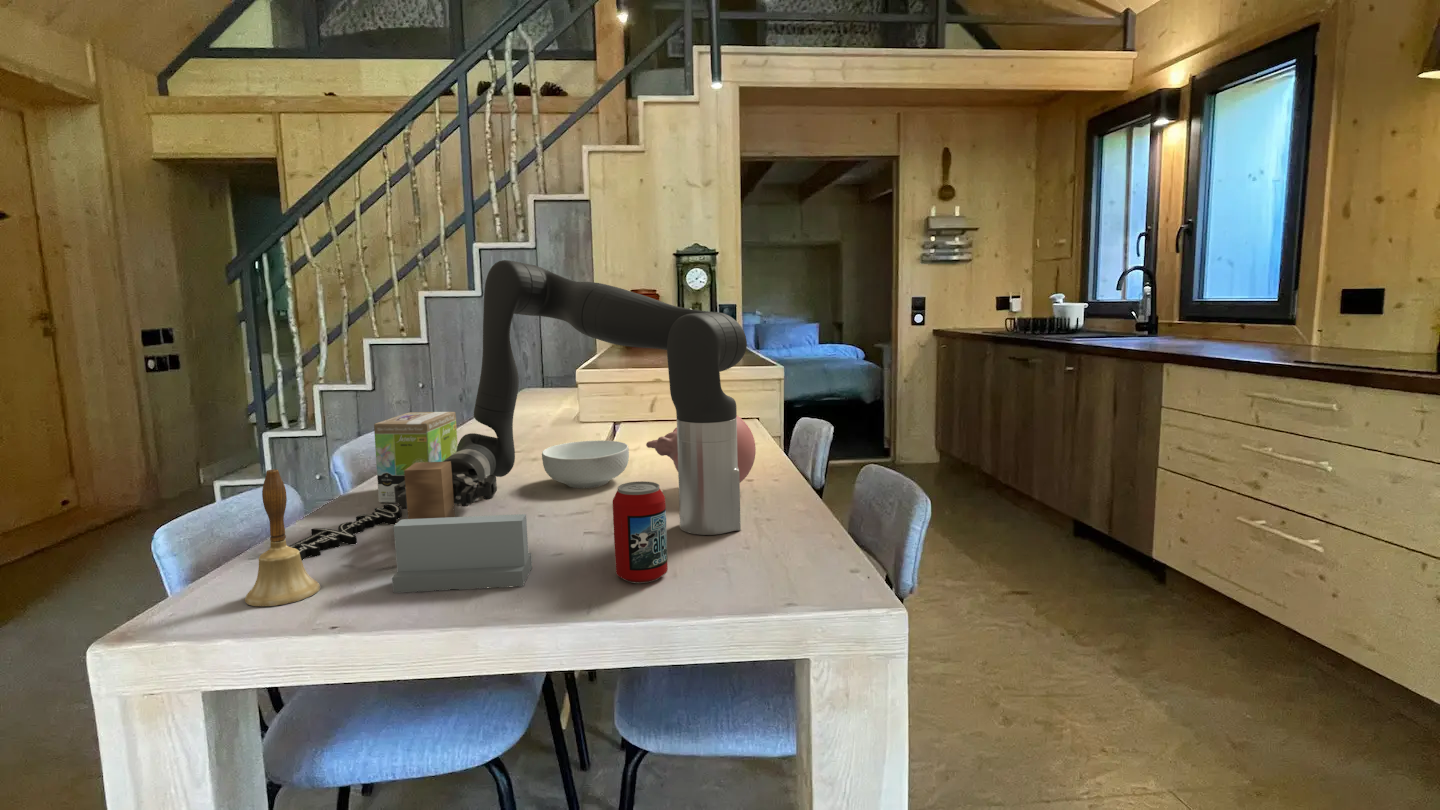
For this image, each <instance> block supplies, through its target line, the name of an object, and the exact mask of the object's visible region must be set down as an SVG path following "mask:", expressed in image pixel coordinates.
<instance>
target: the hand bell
mask: <svg viewBox="0 0 1440 810" xmlns="http://www.w3.org/2000/svg"><path fill="white" fill-rule="evenodd" d="M261 493H262V496H261V497H262V502H263V503H262V504H263V508H264V510H265V513H266V516H267V517H268V520H269V534H270V542H269V543H270V544H269V545H270V547H269V549H268V550H266V551H264V552H263V553H261V554H260V555H259V557H258V569H257V570H258V572H257V577H256V579H255V583H254V585H253V586H252V588H251V590H249V591H248V592H247V594H246V596H245V598H244V602H245V603H246V604H247V605H249V606H252V607H276V606H282V605H288V604H291V603H296V602H299V601H302V600H305V599H307V598H310V597H312V596H313V595H315V594H317V593H318V592H319V591H320V590H321V585H320V583H319V582H318V581H317V580H316V579H314V578H312V577H311V576H310V575H309V573H308V572H307V571H306V568H305V566H304V563H303V560H301V557H300V552H299V550H297V549H295V548H291V547H289V546H290V545H287V541H286V540H287V538H286V537H287V535H286V529H285V528H286V527H285V522H284V521H285V520H284V519H285V513H286V509H287V489H286V486H285V483H284V481H283V479H282V477H281V475H280V472H279V469H275V468H274V469H272V468H271V469H268V470H266V473H265V477H264V480H263V484H262V491H261Z"/></svg>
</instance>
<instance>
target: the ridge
mask: <svg viewBox="0 0 1440 810" xmlns="http://www.w3.org/2000/svg"><path fill="white" fill-rule="evenodd" d="M392 526H393V536H394V547H395V548H394V549H395V558H396V571H397V572H395V574H394V575H393V576H392V577H391V580H392V591H393V592H392V593H395V594H396V593H415V592H417V591H418V592H434V590H435V591H436V590H439V591H451V590H450V589H459V590H474V589H473V588H479V589H491V588H490V587H499V588H510V587H509V586H519V587H524V585H525V583H524V582H526V581H527V579H528V577H527V576H529V575H528V574H530V573H531V571H530V570H532V569H533V560H532V556H533V555H532V552H529V540H528V523H527V514H526V513H522V514H521V513H520V514H519V513H517V514H499V515H498V514H497V515H495V514H494V515H493V514H492V515H472V516H455V517H446V518H423V519H408V518H405V519H401V518H400V519H399V521H397V524H394V525H392ZM529 572H530V573H529ZM526 578H527V579H526ZM525 580H526V581H525ZM523 584H524V585H523ZM507 586H508V587H507ZM487 587H489V588H487ZM470 588H472V589H470ZM448 589H449V590H448Z"/></svg>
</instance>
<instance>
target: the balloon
mask: <svg viewBox="0 0 1440 810" xmlns="http://www.w3.org/2000/svg"><path fill="white" fill-rule="evenodd" d="M753 434H754V433H753V432H752V430H751V429H750V427H749V425H748V424H747V423H746V421H744V420H743V419H742V417H740V416H739V415H737V459H738V469H739V477H740V483H741V482H743V481H744V480H745V479H746V477H748V475H749V473H750V472H751V470H752V469H753V465H754V463H755V459H756V453H757V452H756V451H757V448H756V442H755V441H756V440H755V437H754V435H753ZM645 446H646V448H649V449H650V448H651V449H654V450H655V452H656V453H657V455H659V456H661V457H662V456H667V457H669V458H670V459H671V460H672V462H673V465H674V467H675V470H676V472H678V445H677V426H676V427H675V428H674V429H673V430H672V431H671V432H668V433H666V434H665V435H664V436H659V437H658V438H657V439H653V440H649V441H647V442H646V443H645Z"/></svg>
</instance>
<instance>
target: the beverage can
mask: <svg viewBox="0 0 1440 810" xmlns="http://www.w3.org/2000/svg"><path fill="white" fill-rule="evenodd" d="M666 506H667V505H666V495H664V492H663V491H662V489H661V488H660V484H658V483H657V482H654V481H645V480H644V481H642V480H641V481H631V482H630V481H629V482H625V483H621V484H619V485H618V486H617V489H616V492H615V494H614V497H613V499H612V519H613V520H612V521H613V523H612V524H613V541H614V542H613V544H614V545H613V547H614V559H615V560H614V561H615V574H616V575H617V576H618V577H619V578H620V579H623V580H624V581H626V582H628V583H633V584H646V583H651V582H654V581H657V580H659V579H660V578H661V577H663V575H665V574H666V573H667V572H668V539H667V538H668V533H667V532H668V530H667V511H666V510H667V507H666Z"/></svg>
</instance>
